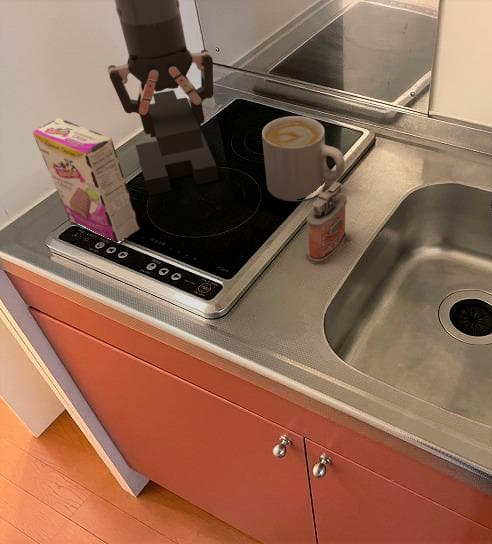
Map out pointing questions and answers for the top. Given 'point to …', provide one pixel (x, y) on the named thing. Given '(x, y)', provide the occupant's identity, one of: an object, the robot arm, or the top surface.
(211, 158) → the notch mat
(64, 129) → the candy bar box
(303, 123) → the coffee mug
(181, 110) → the tab pad
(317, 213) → the lighter
